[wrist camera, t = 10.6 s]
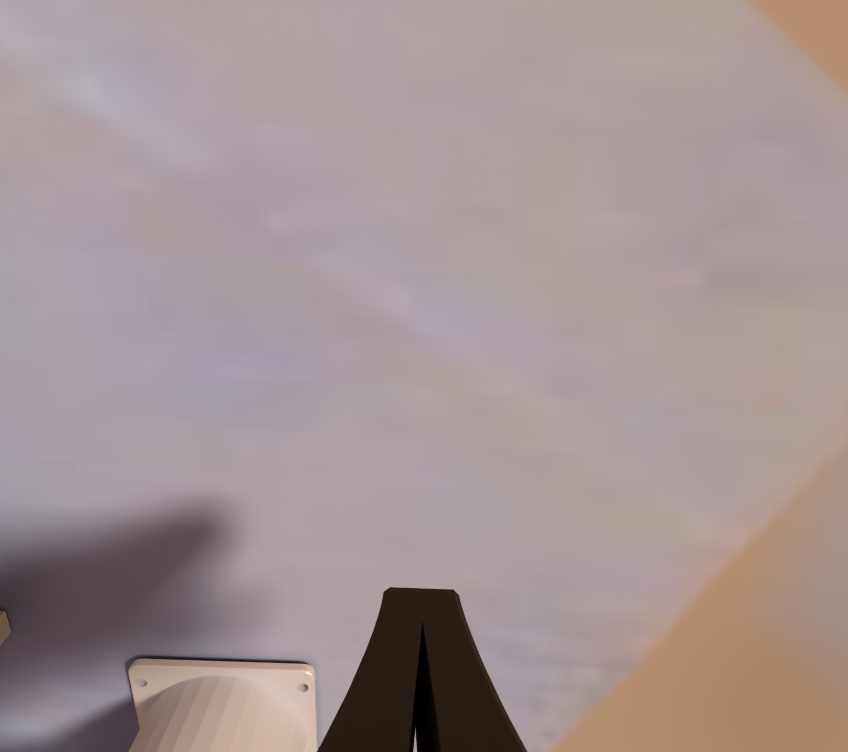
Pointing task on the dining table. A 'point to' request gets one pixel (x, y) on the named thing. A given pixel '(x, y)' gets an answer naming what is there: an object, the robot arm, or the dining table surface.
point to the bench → (4, 627)
